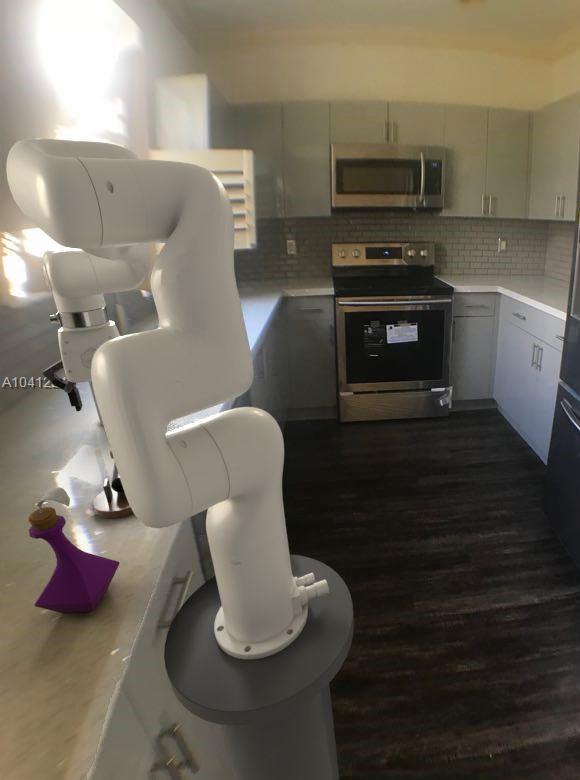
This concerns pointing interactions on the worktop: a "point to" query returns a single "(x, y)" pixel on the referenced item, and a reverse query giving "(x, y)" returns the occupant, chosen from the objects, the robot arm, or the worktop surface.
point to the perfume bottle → (69, 563)
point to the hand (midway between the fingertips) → (108, 403)
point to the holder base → (111, 503)
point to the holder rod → (116, 478)
